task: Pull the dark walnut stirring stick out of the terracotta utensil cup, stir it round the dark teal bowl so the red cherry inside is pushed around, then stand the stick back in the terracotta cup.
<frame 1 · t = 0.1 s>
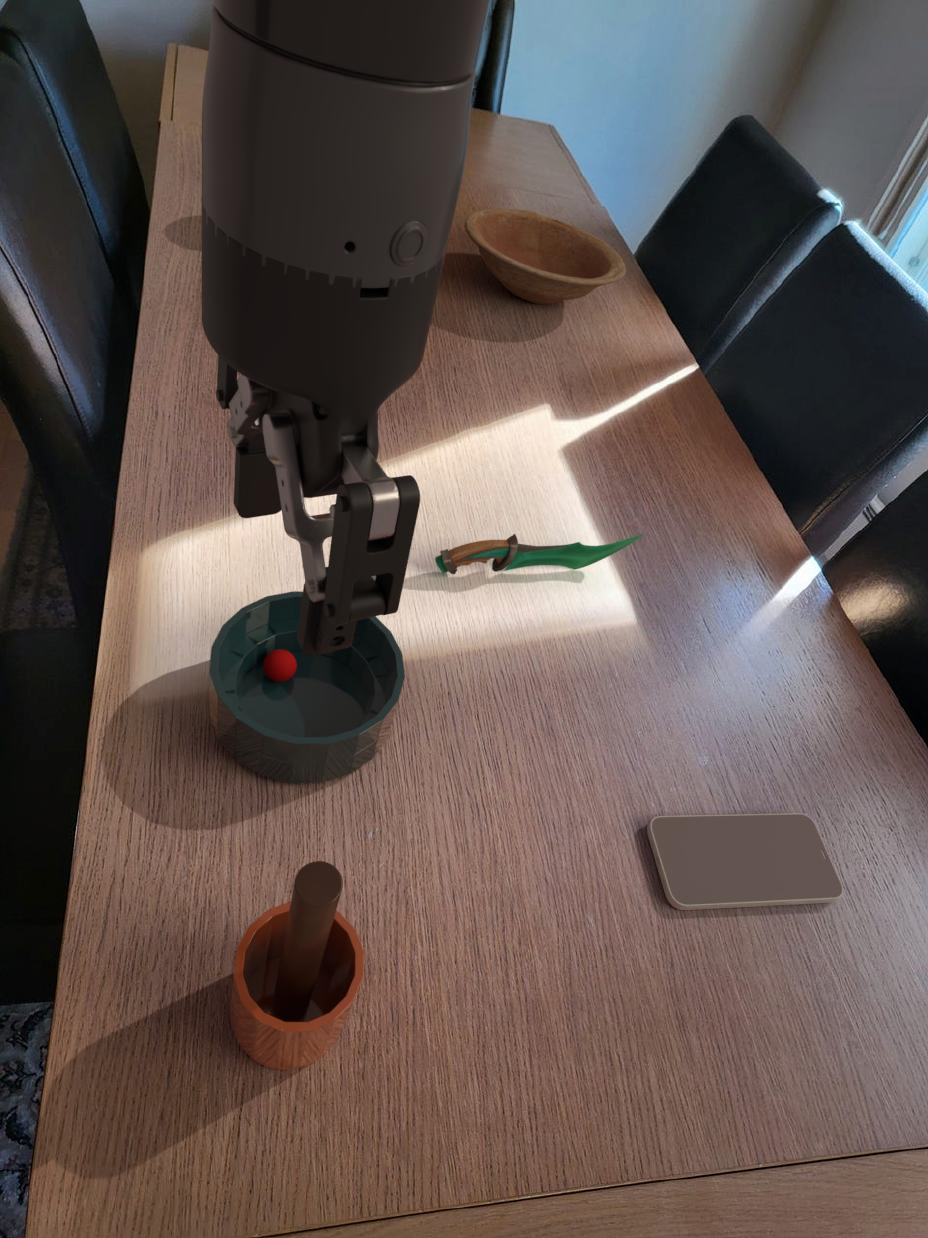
hand: (289, 574, 37), 28 cm above the table, tool pointing down, fingers open, 8 cm apart
knife: (533, 572, 83), on the table
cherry: (280, 665, 66), point 2 cm above the table, touching mixing bowl
disposable coffee cup: (330, 229, 121), on the table
mixing bowl: (303, 708, 66), on the table
bowl: (531, 291, 123), on the table
smartphone: (740, 862, 66), on the table
utensil cup: (289, 1007, 51), on the table
stirring stick: (290, 1004, 51), point 1 cm above the table, touching utensil cup
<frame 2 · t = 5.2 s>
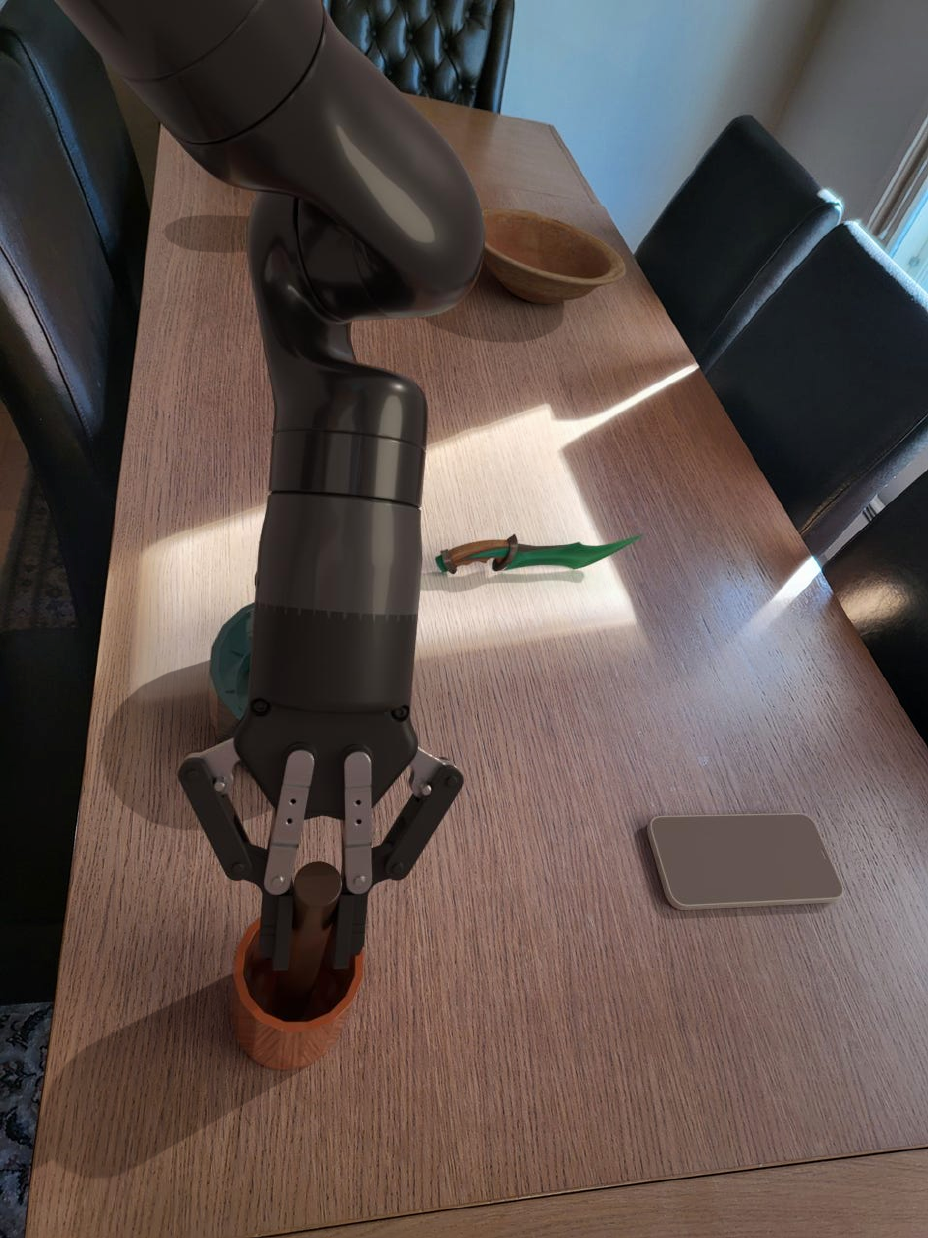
hand: (310, 960, 39), 15 cm above the table, tool tilted 45°, fingers closed on stirring stick, 2 cm apart
stirring stick: (290, 1004, 51), point 1 cm above the table, touching gripper, utensil cup
everything else where it was.
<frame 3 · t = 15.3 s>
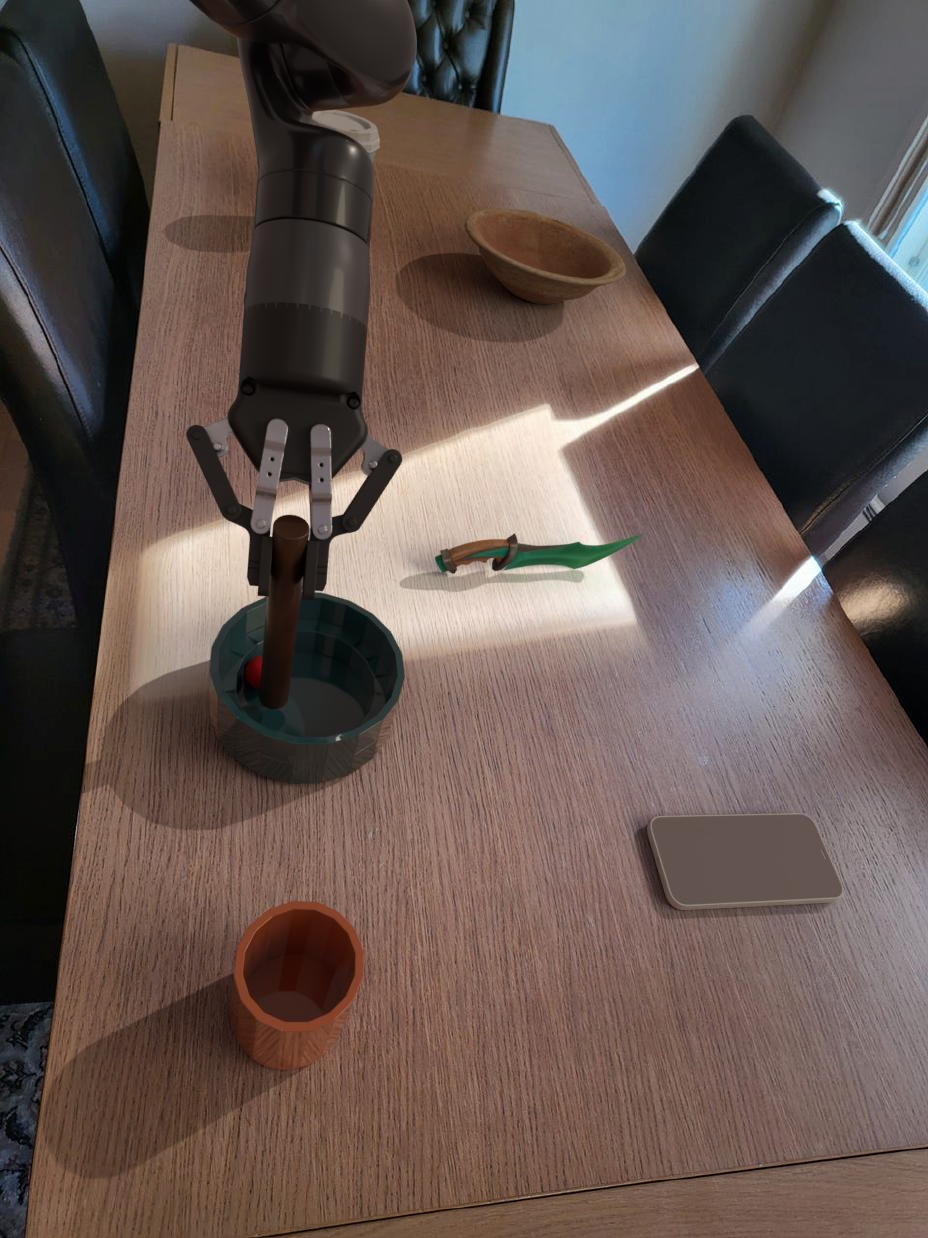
hand: (286, 596, 52), 16 cm above the table, tool tilted 45°, fingers closed on stirring stick, 2 cm apart
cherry: (262, 672, 65), point 2 cm above the table, tilted 34°, touching mixing bowl
stirring stick: (273, 697, 63), point 2 cm above the table, touching gripper
everything else where it was.
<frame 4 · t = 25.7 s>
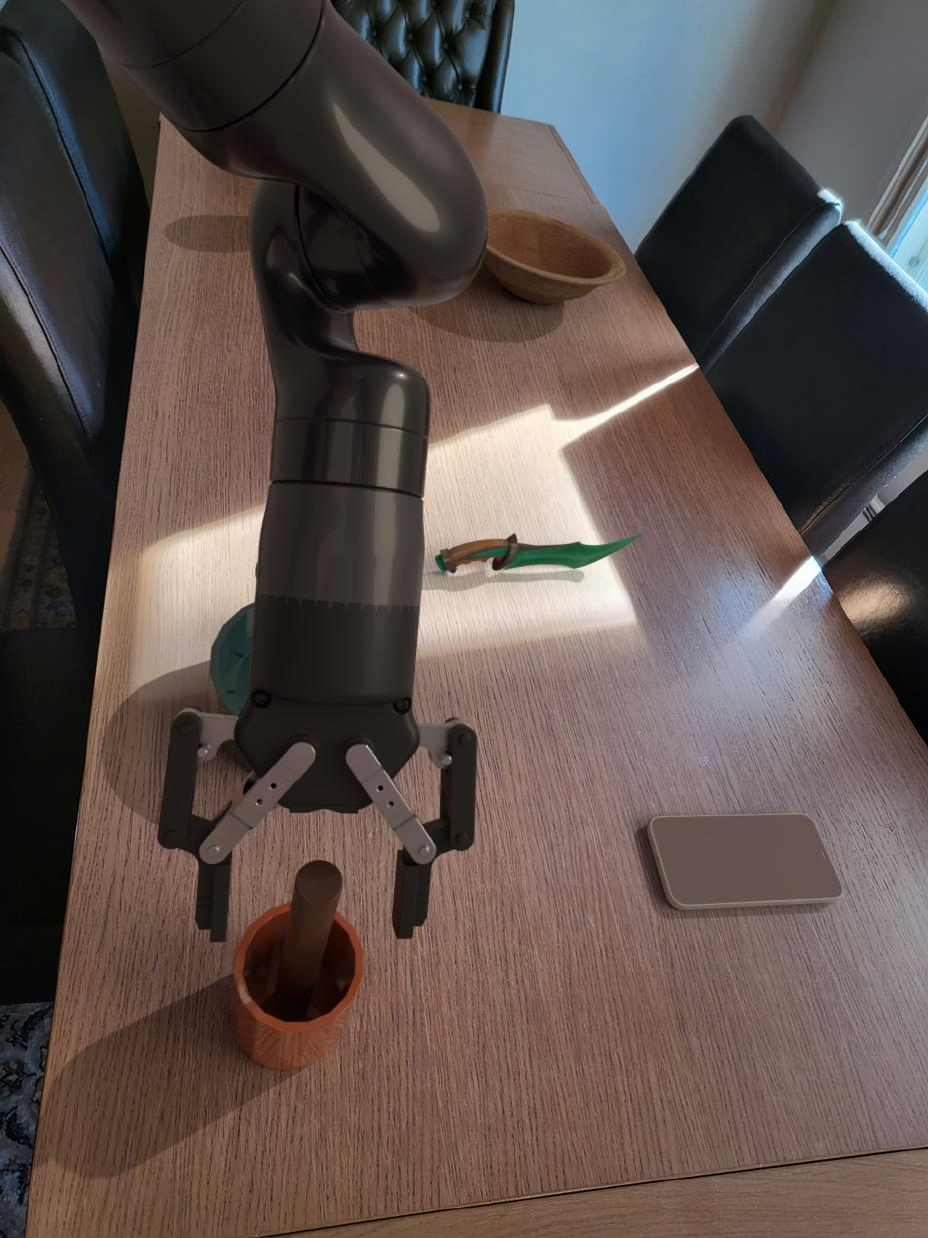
hand: (312, 934, 39), 16 cm above the table, tool tilted 45°, fingers open, 8 cm apart
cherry: (304, 698, 64), point 2 cm above the table, tilted 144°, touching mixing bowl
stirring stick: (290, 1003, 51), point 1 cm above the table, touching utensil cup
everything else where it was.
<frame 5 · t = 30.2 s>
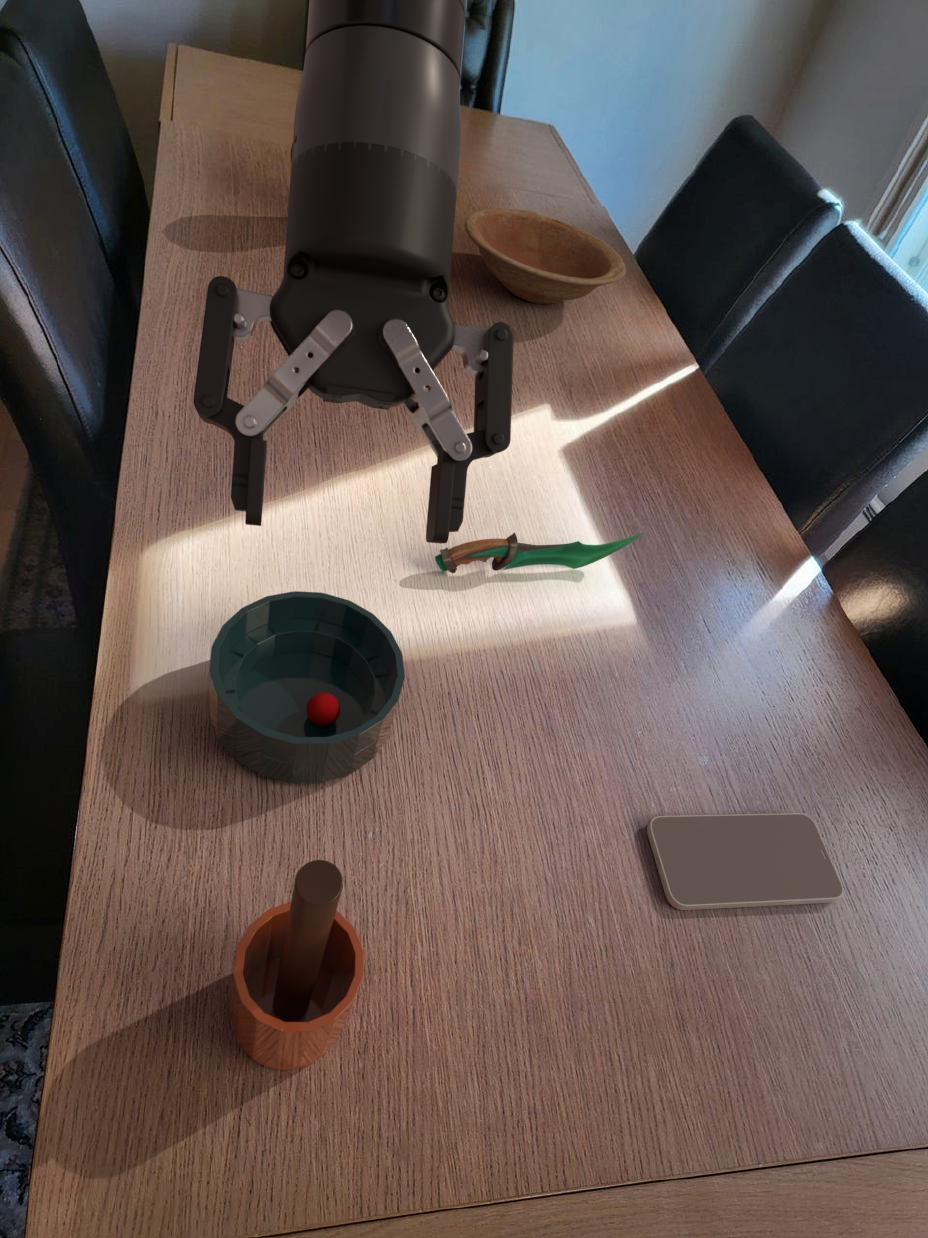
hand: (347, 534, 39), 29 cm above the table, tool tilted 45°, fingers open, 8 cm apart
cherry: (323, 709, 64), point 2 cm above the table, tilted 138°, touching mixing bowl
everything else where it was.
at the end: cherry moved 5.3 cm from its start; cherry inside the target area in the mixing bowl (2.0 cm from its centre), point 1.9 cm above the mixing bowl's base; stirring stick 0.0 cm off-centre in the utensil cup, point 0.6 cm above the utensil cup's base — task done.
